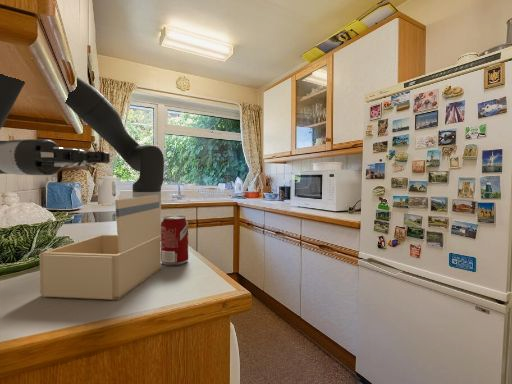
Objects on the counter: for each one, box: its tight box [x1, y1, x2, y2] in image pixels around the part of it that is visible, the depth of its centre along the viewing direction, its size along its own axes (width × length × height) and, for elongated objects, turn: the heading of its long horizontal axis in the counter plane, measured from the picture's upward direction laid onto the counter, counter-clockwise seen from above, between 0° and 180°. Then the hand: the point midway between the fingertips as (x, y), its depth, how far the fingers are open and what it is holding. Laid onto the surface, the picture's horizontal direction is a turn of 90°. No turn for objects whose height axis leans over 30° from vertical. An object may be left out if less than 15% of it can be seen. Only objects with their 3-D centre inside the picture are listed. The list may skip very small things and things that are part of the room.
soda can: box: [160, 214, 189, 267], centre depth 70 cm, size 7×7×12 cm
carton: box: [38, 234, 162, 301], centre depth 57 cm, size 18×15×8 cm
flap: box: [114, 195, 161, 253], centre depth 56 cm, size 16×1×10 cm, turn 175°
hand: (107, 157), depth 56 cm, fingers closed
